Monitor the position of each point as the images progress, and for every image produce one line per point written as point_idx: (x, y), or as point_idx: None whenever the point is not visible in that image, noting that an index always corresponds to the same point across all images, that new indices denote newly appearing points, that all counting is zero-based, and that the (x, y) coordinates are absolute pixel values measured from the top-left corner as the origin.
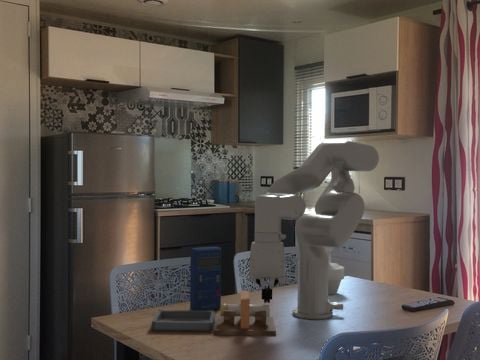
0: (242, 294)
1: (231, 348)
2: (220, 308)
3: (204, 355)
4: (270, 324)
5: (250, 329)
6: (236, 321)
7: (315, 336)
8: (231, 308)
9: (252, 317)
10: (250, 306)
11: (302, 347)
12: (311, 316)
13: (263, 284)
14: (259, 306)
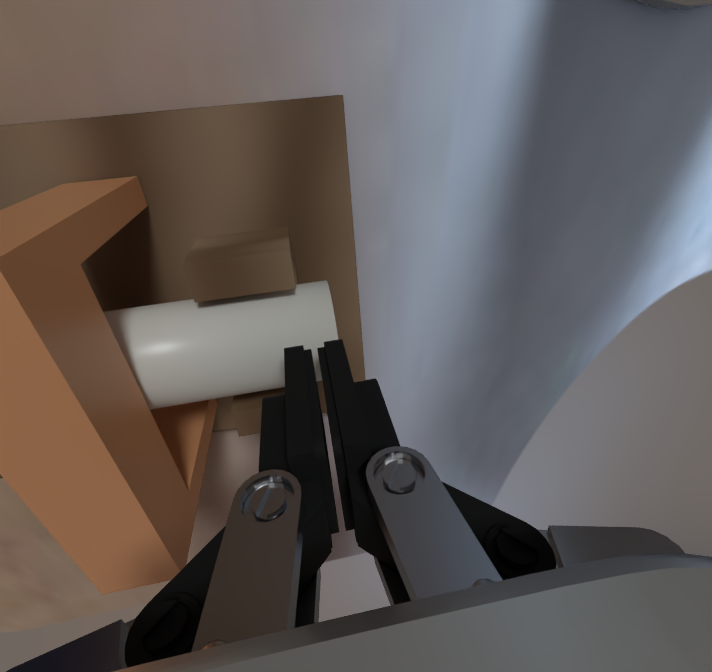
0: (13, 459)
1: (198, 547)
2: None
3: (129, 606)
4: (333, 303)
5: (227, 411)
6: None
7: (543, 366)
8: None
9: (161, 130)
10: (172, 404)
11: (457, 483)
12: (674, 2)
13: (298, 613)
14: (254, 388)
